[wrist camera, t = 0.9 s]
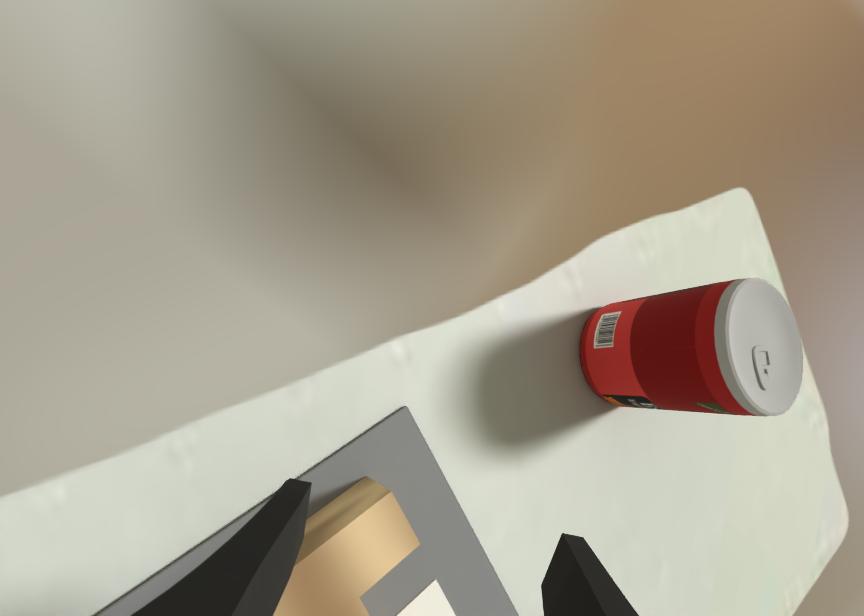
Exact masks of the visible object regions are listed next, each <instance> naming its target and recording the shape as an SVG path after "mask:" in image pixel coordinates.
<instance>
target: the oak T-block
mask: <svg viewBox="0 0 864 616" xmlns="http://www.w3.org/2000/svg"><path fill="white" fill-rule="evenodd" d="M419 545H420V542H419V540H418V538H417V537H416V535H415V533H414V531H413V529H412V528H411V526H410V524H409V522H408V520H407V519H406V517H405V515H404V513H403V511H402V509H401V508H400V506H399V504H398V502H397V500H396V499H395V497H394V495H393V493H392V491H390V490H389V489H387V488H385V487H384V486H382V485H380V484H379V483H377V482H375V481H374V480H372V479H371V478H369V477H367V476H366V477H364V478H363V479H362V480H360V481H359V482H357V483H356V484H355V485H353V486H352V487H351V488H349V489H348V490H347V491H345V492H344V493H342V494H341V495H340V496H338V497H337V498H336V499H334V500H333V501H332V502H330V503H329V504H327V505H326V506H325V507H323V508H322V509H321V510H319V511H318V512H316V513H315V514H314V515H312V516H311V517H310V518H308V519H307V520H306V525H305V532H304V538H303V541H302V544H301V547H300V550H299V553H298V556H297V559H296V562H295V565H294V568H293V571H292V574H291V577H290V579H289V581H288V583H287V586H286V588H285V590H284V592H283V594H282V597H281V599H280V601H279V603H278V606H277V608H276V610H275V612H274V614H273V616H370V615H369V614H368V612H367V610H366V608H365V607H364V605H363V603H362V601H361V600H360V598H359V597H360V596H362V595H363V594H364V593H365V592H366V591H367V590H368V589H370V588H371V587H372V586H373V585H374V584H375V583H376V582H378V581H379V580H380V579H381V578H382V577H383V576H385V575H386V574H387V573H388V572H389V571H390V570H391V569H393V568H394V567H395V566H396V565H397V564H398V563H399V562H401V561H402V560H403V559H404V558H405V557H406V556H407V555H409V554H410V553H411V552H412V551H413V550H414V549H416V548H417V547H418V546H419Z"/></svg>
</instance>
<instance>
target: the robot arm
mask: <svg viewBox="0 0 864 616" xmlns="http://www.w3.org/2000/svg"><path fill="white" fill-rule="evenodd" d="M311 486H312V483H311V482H306V481H301V480H296V479H291V478H290V479H288V480H287V481H285V483H284V484H283V485H282V486H281V487H280V489H279V490H278V491H277V492H276V493H275V494H274V495H273V496H272V498H271V499H270V500H269V501H268V502H267V503H266V504H265V505H264V506H263V507H262V508H261V509H260V510H259V511H258V512H257V513H256V514H255V515H254V516H253V517H252V518H251V519H250V520H249V521H248V522H247V523H246V524H245V525H244V526H243V527H242V528H241V529H240V530H239V531H238V532H237V533H236V534H234V535H233V536H232V537H231V538H230V539H229V540H228V541H227V542H226V543H224V544H223V545H222V546H221V547H220V548H219V549H218V550H216V551H215V552H214V553H213V554H212V555H211V556H210V557H208V558H207V559H206V560H205V561H204V562H202V563H201V564H200V565H199V566H198V567H196V568H195V569H194V570H193V571H191V572H190V573H189V574H188V575H186V576H185V577H184V578H182V579H181V580H180V581H178V582H177V583H176V584H174V585H173V586H172V587H170V588H169V589H168V590H166V591H165V592H164V593H162V594H161V595H159V596H158V597H156V598H155V599H154V600H152V601H151V602H149V603H148V604H147V605H145V606H144V607H142V608H141V609H139V610H138V611H136V612H135V613H133V614H132V615H130V616H273V614H274V612H275V610H276V608H277V606H278V603H279V601H280V599H281V597H282V594H283V592H284V590H285V588H286V586H287V583H288V581H289V579H290V577H291V574H292V571H293V568H294V565H295V562H296V559H297V556H298V553H299V550H300V547H301V544H302V541H303V538H304V532H305V525H306V519H307V512H308V505H309V499H310V492H311ZM541 588H542V599H543V610H544V616H639V615H638V614H637V612H636V611H635V610H634V608H633V607H632V606H631V604H630V603H629V602H628V600H627V599H626V598H625V596H624V595H623V593H622V592H621V591H620V589H619V588H618V586H617V585H616V584H615V582H614V581H613V579H612V578H611V576H610V575H609V574H608V572H607V571H606V569H605V568H604V566H603V565H602V564H601V562H600V561H599V559H598V558H597V556H596V555H595V553H594V552H593V551H592V549H591V548H590V546H589V545H588V544H587V542H586V541H585V539H584V538H583V537H579V536H574V535H569V534H564V533H562V535H561V537H560V540H559V542H558V545H557V547H556V550H555V552H554V555H553V557H552V560H551V562H550V565H549V567H548V570H547V572H546V575H545V577H544V580H543V582H542V585H541Z"/></svg>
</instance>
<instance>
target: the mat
mask: <svg viewBox="0 0 864 616" xmlns="http://www.w3.org/2000/svg"><path fill="white" fill-rule="evenodd" d="M366 476H367V477H369V478H371V479H372V480H374V481H375V482H377V483H379V484H380V485H382V486H384V487H385V488H387V489H389V490H390V491H392V493H393V495H394V497H395V499H396V500H397V502H398V504H399V506H400V508H401V509H402V511H403V513H404V515H405V517H406V519H407V520H408V522H409V524H410V526H411V528H412V529H413V531H414V533H415V535H416V537H417V538H418V540H419V542H420V545H419V546H418V547H417V548H416V549H414V550H413V551H412V552H411V553H410V554H409V555H407V556H406V557H405V558H404V559H403V560H402V561H401V562H399V563H398V564H397V565H396V566H395V567H394V568H393V569H391V570H390V571H389V572H388V573H387V574H386V575H385V576H383V577H382V578H381V579H380V580H379V581H378V582H376V583H375V584H374V585H373V586H372V587H371V588H370V589H368V590H367V591H366V592H365V593H364V594H363V595H362V596H360V597H359V598H360V600H361V601H362V603H363V605H364V607H365V608H366V610H367V612H368V614H369V615H370V616H519V615H518V613H517V611H516V609H515V608H514V606H513V604H512V602H511V600H510V598H509V596H508V594H507V593H506V591H505V589H504V587H503V585H502V583H501V581H500V579H499V578H498V576H497V574H496V572H495V570H494V568H493V566H492V564H491V563H490V561H489V559H488V557H487V555H486V553H485V551H484V549H483V548H482V546H481V544H480V542H479V540H478V538H477V536H476V534H475V533H474V531H473V529H472V527H471V525H470V523H469V521H468V519H467V518H466V516H465V514H464V512H463V510H462V508H461V506H460V504H459V503H458V501H457V499H456V497H455V495H454V493H453V491H452V490H451V488H450V486H449V484H448V482H447V480H446V478H445V476H444V475H443V473H442V471H441V469H440V467H439V465H438V463H437V461H436V460H435V458H434V456H433V454H432V452H431V450H430V448H429V446H428V445H427V443H426V441H425V439H424V437H423V435H422V433H421V431H420V430H419V428H418V426H417V424H416V422H415V420H414V418H413V416H412V415H411V413H410V411H409V409H408V407H407V406H404V407H403V408H401V409H400V410H398V411H397V412H395V413H394V414H392V415H391V416H389V417H388V418H386V419H385V420H384V421H382V422H381V423H379V424H378V425H376V426H375V427H373V428H372V429H370V430H369V431H367V432H366V433H364V434H363V435H361V436H360V437H358V438H357V439H355V440H354V441H353V442H351V443H350V444H348V445H347V446H345V447H344V448H342V449H341V450H339V451H338V452H336V453H335V454H333V455H332V456H330V457H329V458H327V459H326V460H324V461H323V462H322V463H320V464H319V465H317V466H316V467H314V468H313V469H311V470H310V471H308V472H307V473H305V474H304V475H302V476H301V477H299V478H298V479H296V480H301V481H306V482H311V483H312V486H311V492H310V499H309V505H308V512H307V519H308V518H310V517H311V516H312V515H314V514H315V513H316V512H318V511H319V510H321V509H322V508H323V507H325V506H326V505H327V504H329V503H330V502H332V501H333V500H334V499H336V498H337V497H338V496H340V495H341V494H342V493H344V492H345V491H347V490H348V489H349V488H351V487H352V486H353V485H355V484H356V483H357V482H359V481H360V480H362V479H363V478H364V477H366ZM271 498H272V496H271V497H270V498H268V499H267V500H265V501H264V502H263V503H261V504H260V505H258V506H257V507H255V508H254V509H252V510H251V511H249V512H248V513H246V514H245V515H243V516H242V517H240V518H239V519H237V520H236V521H234V522H233V523H232V524H230V525H229V526H227V527H226V528H224V529H223V530H221V531H220V532H218V533H217V534H215V535H214V536H212V537H211V538H209V539H208V540H206V541H205V542H203V543H202V544H201V545H199V546H198V547H196V548H195V549H193V550H192V551H190V552H189V553H187V554H186V555H184V556H183V557H181V558H180V559H178V560H177V561H175V562H174V563H173V564H171V565H170V566H168V567H167V568H165V569H164V570H162V571H161V572H159V573H158V574H156V575H155V576H153V577H152V578H150V579H149V580H147V581H146V582H144V583H143V584H142V585H140V586H139V587H137V588H136V589H134V590H133V591H131V592H130V593H128V594H127V595H125V596H124V597H122V598H121V599H119V600H118V601H116V602H115V603H113V604H112V605H111V606H109V607H108V608H106V609H105V610H103V611H102V612H100V613H99V614H97V615H96V616H130V615H132V614H133V613H135V612H136V611H138V610H139V609H141V608H142V607H144V606H145V605H147V604H148V603H149V602H151V601H152V600H154V599H155V598H156V597H158V596H159V595H161V594H162V593H164V592H165V591H166V590H168V589H169V588H170V587H172V586H173V585H174V584H176V583H177V582H178V581H180V580H181V579H182V578H184V577H185V576H186V575H188V574H189V573H190V572H191V571H193V570H194V569H195V568H196V567H198V566H199V565H200V564H201V563H202V562H204V561H205V560H206V559H207V558H208V557H210V556H211V555H212V554H213V553H214V552H215V551H216V550H218V549H219V548H220V547H221V546H222V545H223V544H224V543H226V542H227V541H228V540H229V539H230V538H231V537H232V536H233V535H234V534H236V533H237V532H238V531H239V530H240V529H241V528H242V527H243V526H244V525H245V524H246V523H247V522H248V521H249V520H250V519H251V518H252V517H253V516H254V515H255V514H256V513H257V512H258V511H259V510H260V509H261V508H262V507H263V506H264V505H265V504H266V503H267V502H268V501H269V500H270V499H271ZM307 519H306V520H307Z"/></svg>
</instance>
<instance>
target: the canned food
mask: <svg viewBox="0 0 864 616" xmlns="http://www.w3.org/2000/svg"><path fill="white" fill-rule="evenodd" d="M580 358H581V365H582V368H583V372H584V375H585V377H586V379H587V381H588V383H589V385H590V386H591V388H592V389H593V390H594V391H595V393H596V394H597V395H598V396H600V397H601V398H603V399H604V400H606V401H608V402H610V403H612V404H615V405H618V406H622V407H635V408H649V409H663V410H677V411H690V412H704V413H718V414H732V415H752V416H777V415H781V414H783V413H785V412H786V411H787V410H789V409H790V407H791V406H792V405H793V403H794V402H795V400H796V397H797V395H798V393H799V389H800V385H801V381H802V373H803V353H802V344H801V339H800V334H799V330H798V327H797V324H796V321H795V318H794V316H793V314H792V311H791V309H790V307H789V306H788V304H787V302H786V300H785V299H784V297H783V296H782V295H781V293H780V292H779V291H778V290H777V289H776V288H775V287H774V286H773V285H772V284H770V283H769V282H767V281H766V280H763V279H760V278H748V279H737V280H731V281H726V282H719V283H714V284H709V285H704V286H698V287H693V288H688V289H683V290H678V291H673V292H668V293H663V294H658V295H652V296H647V297H642V298H637V299H632V300H627V301H622V302H617V303H612V304H609V305H606V306H604V307H603V308H601V309H599V310H598V311H596V312H595V313H594V314H592V316H591V317H590V318H589V319H588V321H587V323H586V324H585V326H584V329H583V332H582V335H581V342H580Z"/></svg>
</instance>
